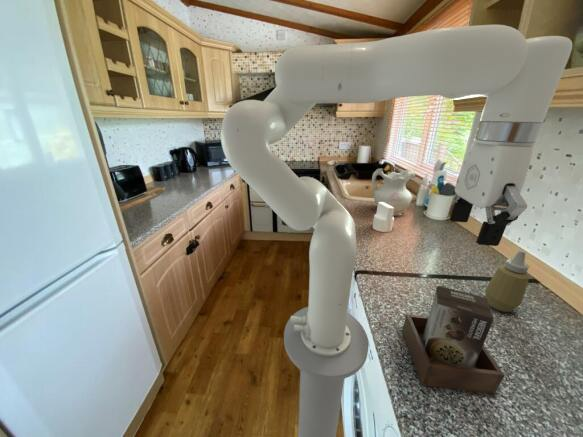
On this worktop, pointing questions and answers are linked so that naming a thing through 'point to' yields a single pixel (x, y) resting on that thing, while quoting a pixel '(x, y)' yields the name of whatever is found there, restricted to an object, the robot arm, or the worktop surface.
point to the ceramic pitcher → (393, 189)
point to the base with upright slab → (383, 217)
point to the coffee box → (456, 328)
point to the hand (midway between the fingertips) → (471, 231)
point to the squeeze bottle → (508, 284)
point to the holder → (444, 376)
